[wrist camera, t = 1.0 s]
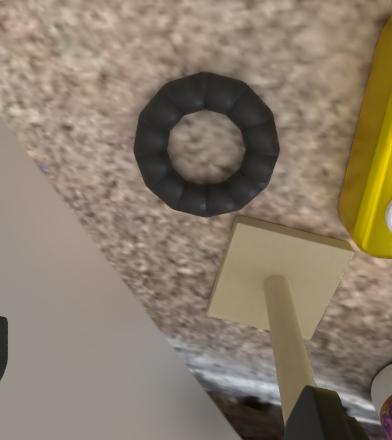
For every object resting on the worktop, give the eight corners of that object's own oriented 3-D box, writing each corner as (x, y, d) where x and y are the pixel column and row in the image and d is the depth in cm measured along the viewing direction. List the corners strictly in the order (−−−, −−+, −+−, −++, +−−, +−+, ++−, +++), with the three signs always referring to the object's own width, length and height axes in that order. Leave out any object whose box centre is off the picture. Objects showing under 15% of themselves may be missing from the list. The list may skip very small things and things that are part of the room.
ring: (152, 55, 24) (145, 57, 22) (295, 93, 24) (302, 98, 22) (129, 190, 28) (122, 202, 26) (251, 221, 28) (253, 234, 26)
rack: (236, 213, 28) (245, 362, 15) (349, 242, 29) (452, 410, 16) (207, 304, 32) (194, 484, 19) (306, 328, 33) (361, 520, 19)
